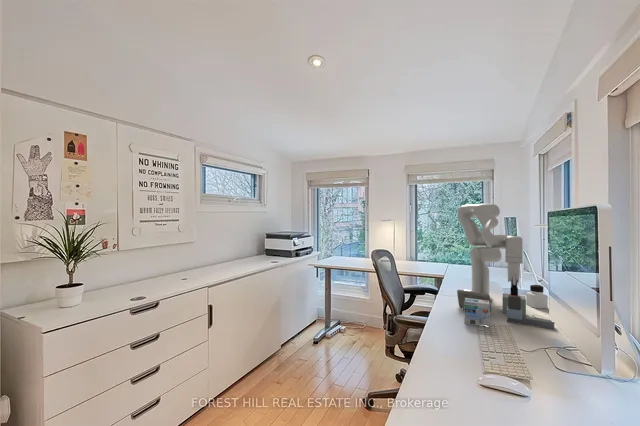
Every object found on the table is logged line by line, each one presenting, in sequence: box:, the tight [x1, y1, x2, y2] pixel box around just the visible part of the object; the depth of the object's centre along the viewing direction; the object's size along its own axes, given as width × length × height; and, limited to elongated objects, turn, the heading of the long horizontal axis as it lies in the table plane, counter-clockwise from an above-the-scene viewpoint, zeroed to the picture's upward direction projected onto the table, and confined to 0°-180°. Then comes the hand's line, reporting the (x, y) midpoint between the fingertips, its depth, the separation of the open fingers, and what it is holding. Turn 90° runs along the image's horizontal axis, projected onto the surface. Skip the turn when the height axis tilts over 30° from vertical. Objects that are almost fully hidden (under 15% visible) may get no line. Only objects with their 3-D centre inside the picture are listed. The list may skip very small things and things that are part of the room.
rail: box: [506, 315, 555, 331], centre depth 139 cm, size 18×4×3 cm, turn 57°
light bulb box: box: [463, 298, 491, 327], centre depth 141 cm, size 11×7×11 cm, turn 62°
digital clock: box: [456, 289, 492, 314], centre depth 159 cm, size 16×9×11 cm, turn 37°
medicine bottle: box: [525, 284, 549, 309], centre depth 167 cm, size 7×7×12 cm
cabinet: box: [502, 293, 527, 316], centre depth 154 cm, size 10×8×9 cm
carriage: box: [506, 295, 522, 320], centre depth 143 cm, size 6×7×10 cm
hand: (514, 295), depth 154 cm, fingers closed
